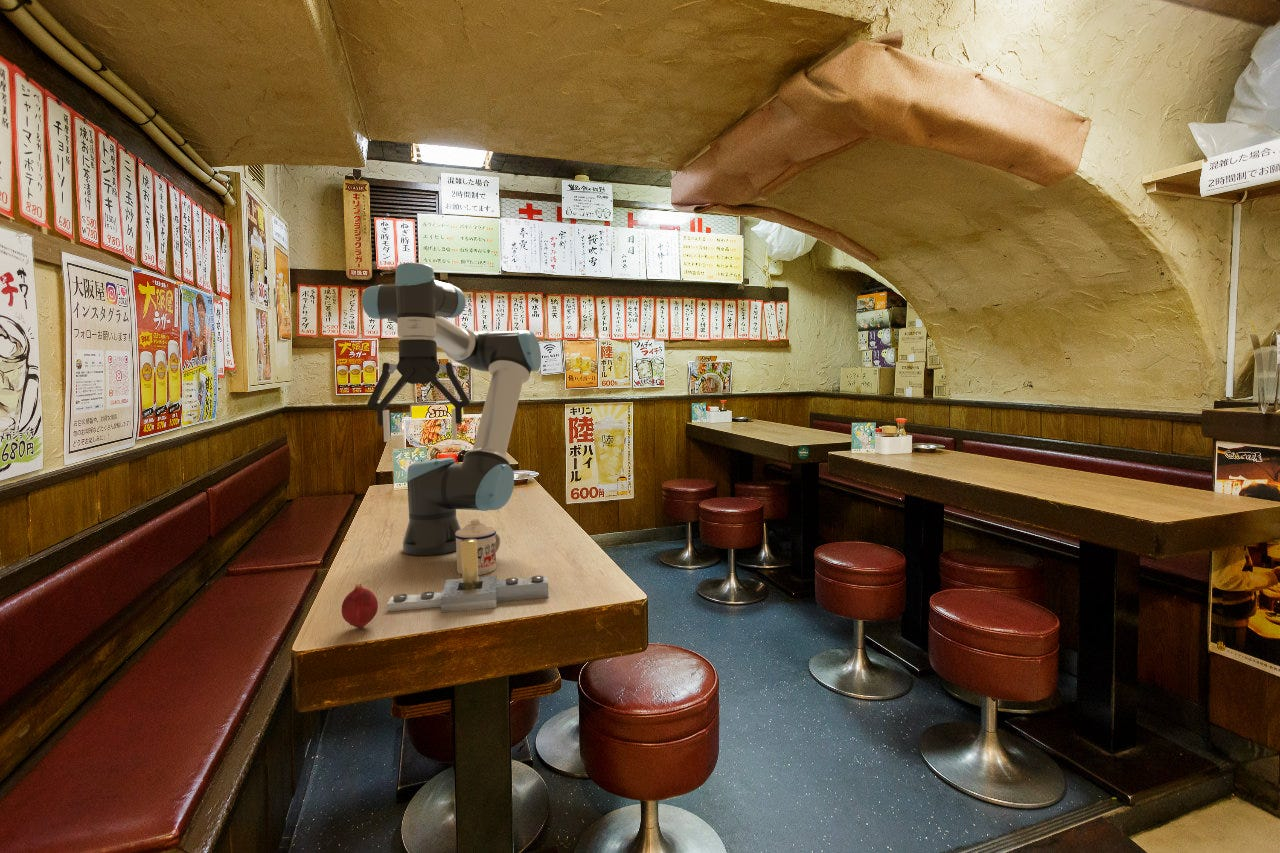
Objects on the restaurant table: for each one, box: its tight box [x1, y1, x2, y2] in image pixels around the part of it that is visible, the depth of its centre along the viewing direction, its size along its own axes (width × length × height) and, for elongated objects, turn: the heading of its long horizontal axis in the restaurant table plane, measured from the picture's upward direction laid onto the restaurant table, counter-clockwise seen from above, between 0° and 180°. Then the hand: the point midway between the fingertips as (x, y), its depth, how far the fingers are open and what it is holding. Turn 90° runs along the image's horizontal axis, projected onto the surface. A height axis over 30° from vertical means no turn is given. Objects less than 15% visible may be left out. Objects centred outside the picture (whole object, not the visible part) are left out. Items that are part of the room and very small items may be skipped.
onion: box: [341, 582, 379, 629], centre depth 104 cm, size 6×6×8 cm
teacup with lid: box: [455, 518, 501, 576], centre depth 137 cm, size 12×9×12 cm
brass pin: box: [461, 539, 479, 590], centre depth 116 cm, size 3×3×12 cm
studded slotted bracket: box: [386, 575, 549, 613], centre depth 117 cm, size 10×30×4 cm, turn 102°
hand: (421, 440), depth 126 cm, fingers open, 13 cm apart
